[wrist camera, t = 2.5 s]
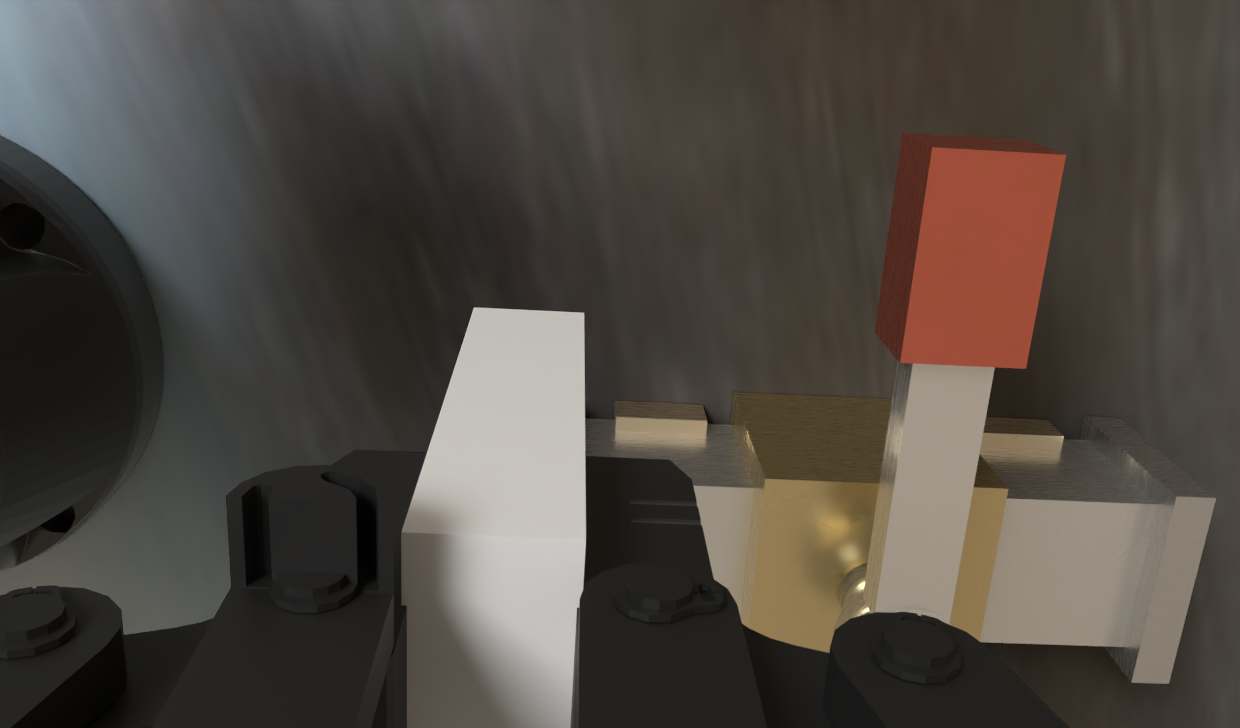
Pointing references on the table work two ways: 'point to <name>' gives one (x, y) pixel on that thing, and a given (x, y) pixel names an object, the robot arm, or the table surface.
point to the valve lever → (950, 346)
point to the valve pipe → (995, 534)
